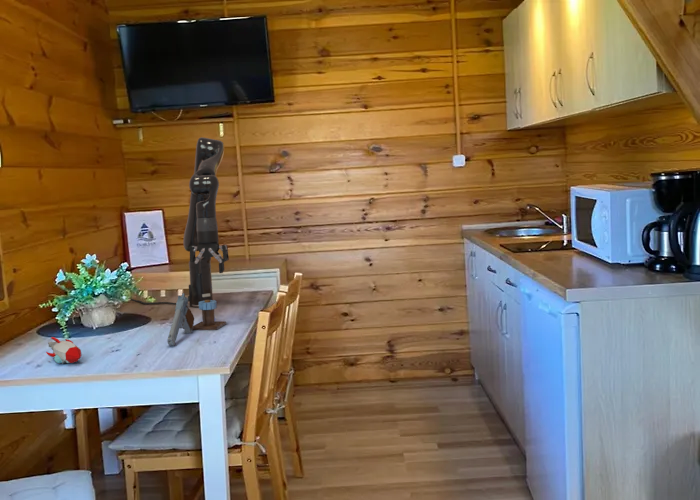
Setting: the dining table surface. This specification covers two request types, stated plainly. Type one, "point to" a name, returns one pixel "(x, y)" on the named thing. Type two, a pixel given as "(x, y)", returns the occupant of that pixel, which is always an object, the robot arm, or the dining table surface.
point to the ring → (207, 305)
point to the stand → (208, 321)
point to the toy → (64, 351)
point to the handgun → (181, 319)
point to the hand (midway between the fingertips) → (210, 273)
